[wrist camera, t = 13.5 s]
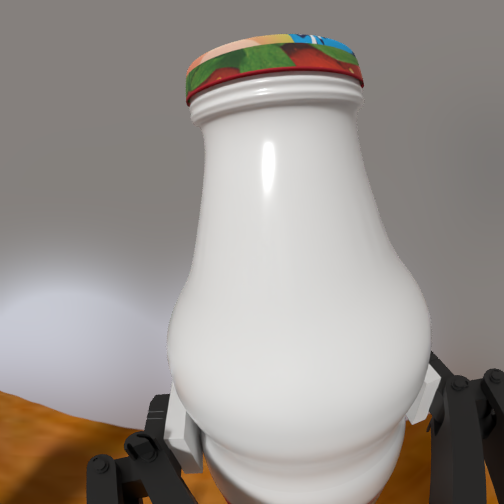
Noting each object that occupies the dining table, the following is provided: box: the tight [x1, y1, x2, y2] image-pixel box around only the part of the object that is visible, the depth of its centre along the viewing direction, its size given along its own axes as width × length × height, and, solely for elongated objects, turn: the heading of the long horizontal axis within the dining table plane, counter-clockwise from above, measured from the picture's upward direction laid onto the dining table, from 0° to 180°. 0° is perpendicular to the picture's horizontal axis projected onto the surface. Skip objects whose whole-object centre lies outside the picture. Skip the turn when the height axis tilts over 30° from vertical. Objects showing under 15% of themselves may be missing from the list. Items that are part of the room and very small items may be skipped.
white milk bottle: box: [167, 34, 432, 504], centre depth 12 cm, size 9×9×28 cm
